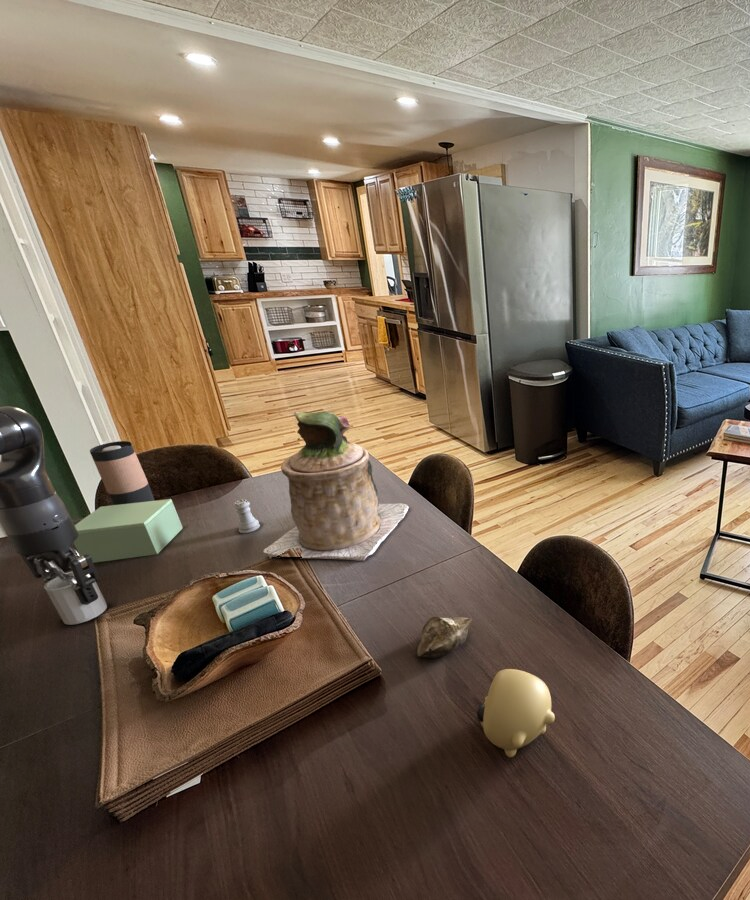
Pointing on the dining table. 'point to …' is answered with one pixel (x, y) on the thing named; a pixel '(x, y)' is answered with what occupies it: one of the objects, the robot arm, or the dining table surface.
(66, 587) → the cup
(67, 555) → the robot arm
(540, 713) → the toy pig
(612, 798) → the dining table surface
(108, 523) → the container lid
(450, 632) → the fossilized seashell
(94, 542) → the container
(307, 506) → the cookie jar
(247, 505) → the rook chess piece
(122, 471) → the travel mug
